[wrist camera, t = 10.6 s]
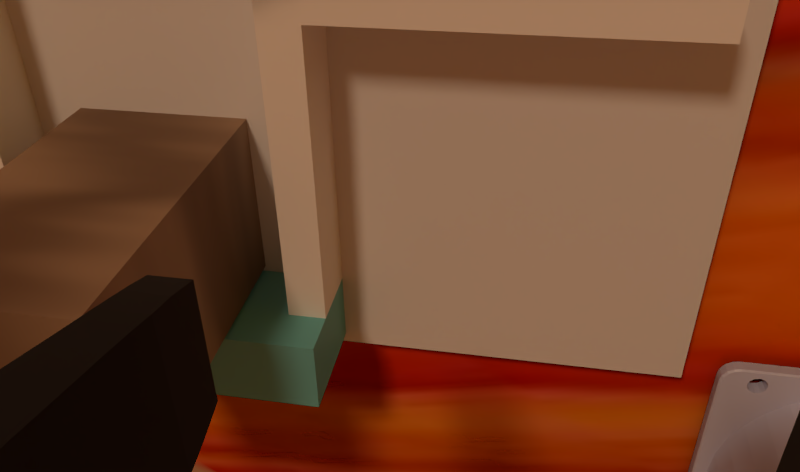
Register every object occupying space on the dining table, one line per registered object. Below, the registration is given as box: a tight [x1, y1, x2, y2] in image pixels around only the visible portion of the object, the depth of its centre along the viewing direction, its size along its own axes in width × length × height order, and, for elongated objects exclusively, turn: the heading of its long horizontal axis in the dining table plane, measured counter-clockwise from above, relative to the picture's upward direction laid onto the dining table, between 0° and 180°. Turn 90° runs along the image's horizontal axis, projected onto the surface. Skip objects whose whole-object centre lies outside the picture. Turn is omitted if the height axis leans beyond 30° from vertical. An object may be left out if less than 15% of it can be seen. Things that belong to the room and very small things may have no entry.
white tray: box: [0, 0, 778, 407], centre depth 16 cm, size 20×20×4 cm
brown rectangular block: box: [0, 108, 266, 369], centre depth 17 cm, size 4×4×8 cm
